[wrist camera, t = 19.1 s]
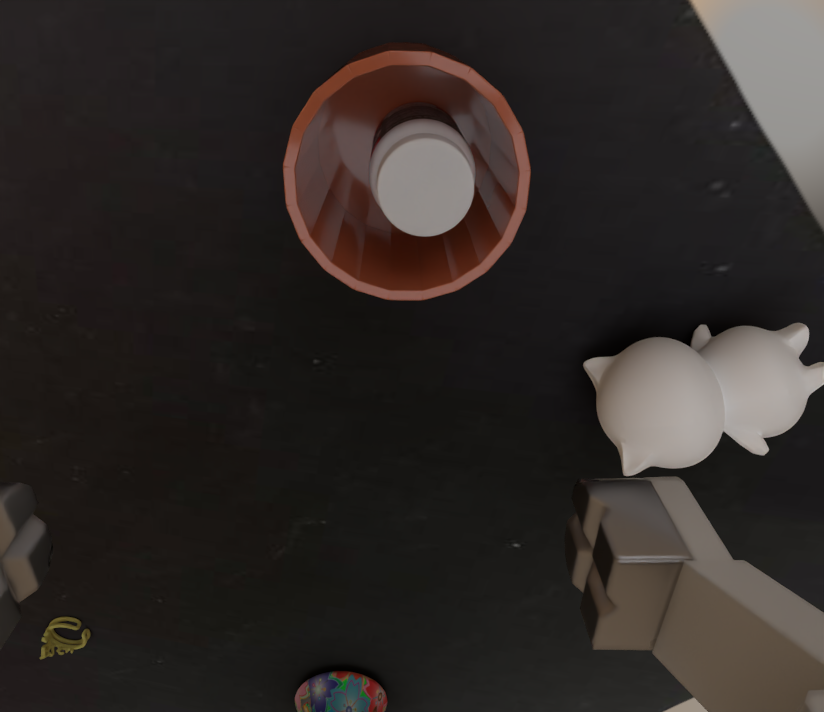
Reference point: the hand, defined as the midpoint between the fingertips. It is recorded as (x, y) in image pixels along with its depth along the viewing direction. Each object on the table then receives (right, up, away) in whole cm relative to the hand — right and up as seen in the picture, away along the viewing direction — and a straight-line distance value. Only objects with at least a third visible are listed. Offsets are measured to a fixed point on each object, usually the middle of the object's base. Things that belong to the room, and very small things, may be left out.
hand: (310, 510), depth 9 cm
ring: (-28, -21, +42) cm, 55 cm away
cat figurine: (+19, +1, +31) cm, 36 cm away
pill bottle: (+2, +13, +23) cm, 26 cm away
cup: (+1, +14, +23) cm, 27 cm away
